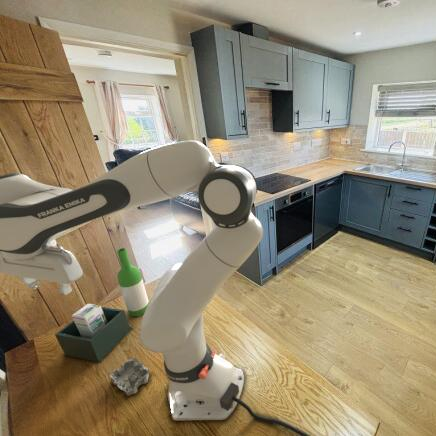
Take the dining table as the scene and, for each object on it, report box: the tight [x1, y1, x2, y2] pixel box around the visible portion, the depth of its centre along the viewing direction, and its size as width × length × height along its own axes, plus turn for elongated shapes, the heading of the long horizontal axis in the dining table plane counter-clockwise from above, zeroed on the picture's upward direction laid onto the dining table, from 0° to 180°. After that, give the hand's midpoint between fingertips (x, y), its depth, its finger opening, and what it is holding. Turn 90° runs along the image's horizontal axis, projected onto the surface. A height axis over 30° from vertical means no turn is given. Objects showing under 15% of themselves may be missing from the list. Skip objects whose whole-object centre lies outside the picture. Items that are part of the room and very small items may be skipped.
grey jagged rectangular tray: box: [108, 357, 150, 397], centre depth 74 cm, size 11×8×4 cm
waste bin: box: [54, 306, 132, 363], centre depth 85 cm, size 14×14×10 cm
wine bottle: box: [116, 247, 150, 317], centre depth 95 cm, size 8×8×30 cm
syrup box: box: [71, 303, 108, 339], centre depth 84 cm, size 6×6×14 cm
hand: (51, 290), depth 61 cm, fingers open, 8 cm apart
